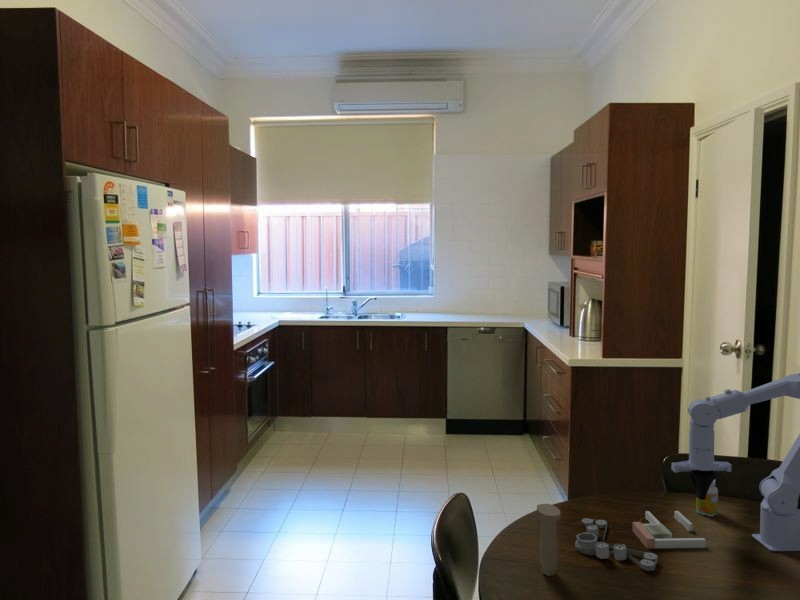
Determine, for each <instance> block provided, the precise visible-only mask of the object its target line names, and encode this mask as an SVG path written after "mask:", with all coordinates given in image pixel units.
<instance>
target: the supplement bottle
mask: <svg viewBox="0 0 800 600" xmlns="http://www.w3.org/2000/svg"><path fill="white" fill-rule="evenodd" d="M718 509H719V489H718V487H716V479H715V480H714V481H713V482H712V484H711V485H710V487H709V489H708V492H707V495H706V499H705V500H700V499H698V498H697V497H696V496H695V511H696V512H697V513H698V514H699V513H700V514H699V515H701V514H702V515H701V516H704V515H707V516H706V517H715V516H714V515H716V516H718V512H719V511H718Z"/></svg>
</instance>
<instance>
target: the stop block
mask: <svg viewBox="0 0 800 600" xmlns="http://www.w3.org/2000/svg"><path fill="white" fill-rule="evenodd" d="M642 524H643V523H642V522H641V521H632V532H633V534H635V536H636V537H637V539H638V540H639V539H640V540H639V541H640V542H641V543H642V545H643V546H644V547H645V548H646V549H656V548H655V538H654V537H653V536H652V535H651V533H650V532H649V531H648V530H647V529H646V528H645V527H644V526H643V525H642Z"/></svg>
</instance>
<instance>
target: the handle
mask: <svg viewBox="0 0 800 600" xmlns="http://www.w3.org/2000/svg"><path fill="white" fill-rule="evenodd" d="M536 515H537V517H538V518H539V519H540V520H541V521H540V535H539V537H540V538H539V539H540V540H539V558H540V559H539V560H540V561H539V562H540V566H541V568H540V569H541V573H542V574H543V575H546V576H547V577H551V576H555V575H556V569H557V563H558V540H557V539H558V538H557V522H559V520H561V510H560V509H559V508H558V507H557V506H555V505H553V504H551V503H540V504H537V505H536Z"/></svg>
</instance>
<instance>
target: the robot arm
mask: <svg viewBox="0 0 800 600" xmlns="http://www.w3.org/2000/svg"><path fill="white" fill-rule="evenodd" d="M723 392H724V393H721V394H720V393H719V394H717V395H715V396H711V397H710V396H709V395H707V396H705V397H704V398H705V399H703V398H702V399H701V398H700V399H696V400H694V401H693V400H692V402H691V403H690V404H689V406H688V408H687V412H688V415H689V416H690V421H689V426H690V427H689V429H688V430H689V435H688V436H689V440H688V441H689V442H688V444H689V447H688V460H683V461H677V462H671V463H670V464H671V467H670V468H671V471H673V472H674V473H677V474H678V473H679V472H686V473H687V474H688V476H689V478H690V480H691V482H692V485H693V488H694V492H695V498H696V497H697V498H698V499H700V500H705V499H706V495H707V492H708V489H709V487H710V485H711V484H712V482H713V481H714V480H715V481H716V479H717V474H716V473H714V472H727V473H728V472H729V473H731V472H732V464H731V463H730V462H728V461H715V430H714V427H715V426H714V424H715V423H716V421H717V420H722V419H725V418H728V417H732V416H735V415H739V414H742V413H745V412H747V410H748V408H749V406H750V405H754V404H758V403H762V402H765V401H768V400H772V399H777V398H781V397H789V398H794V399H798V400H800V372H799V373H792V374H789V375H785V376H784V377H781V378H778V379H776V380H772V381H771V382H768V383H767V382H766V383H765V384H762V385H760V386H756V387H754V388H751V389H749V390H745V391H744V392H743V391H739V390H737V389H732V390H731V389H730V388H727V389H724V390H723ZM759 492H760V494H761V496H763V497H764V498H763V499H762V501H761V502H760V518H759V519H760V522H759V533H753V534H751V537H752V538H754V539H755V540H756V541H757V542H759V543H760V544H761V545H762V546H763V547H765V548H766V549H768V551H770V552H800V509H799V508H798V506H799V497H800V433H799V434H798V435H797V437H796V439H795V441H794V442H793V444H792V445H791V448H790V449H789V451H788V452H787V454H786V456H785V458H783V461H782V462H781V464H780V465H779V467H778V468H775V469H774V470H772V471H771V473H770V475H768V476H766V477H765V478H764V479H762V480H761V481H760V483H759Z"/></svg>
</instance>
